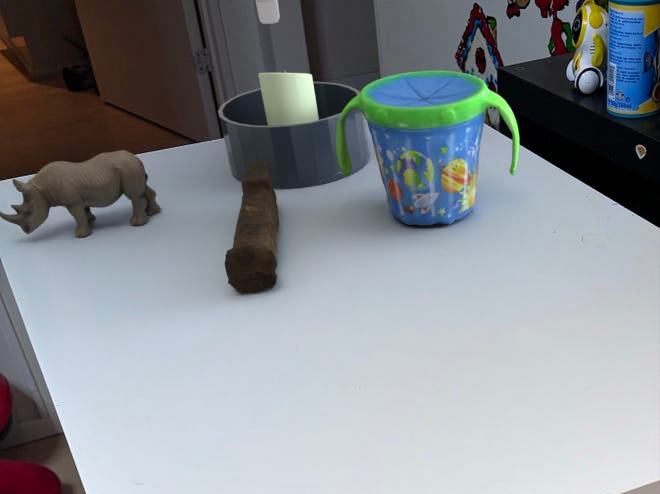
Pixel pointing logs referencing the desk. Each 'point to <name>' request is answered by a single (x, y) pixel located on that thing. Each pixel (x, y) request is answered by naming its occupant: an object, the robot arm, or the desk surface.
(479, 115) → the snack cup
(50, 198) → the rhino figurine
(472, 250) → the desk surface
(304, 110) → the candle
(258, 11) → the robot arm
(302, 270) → the desk surface
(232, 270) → the brown rough bar
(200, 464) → the desk surface
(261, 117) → the tin
